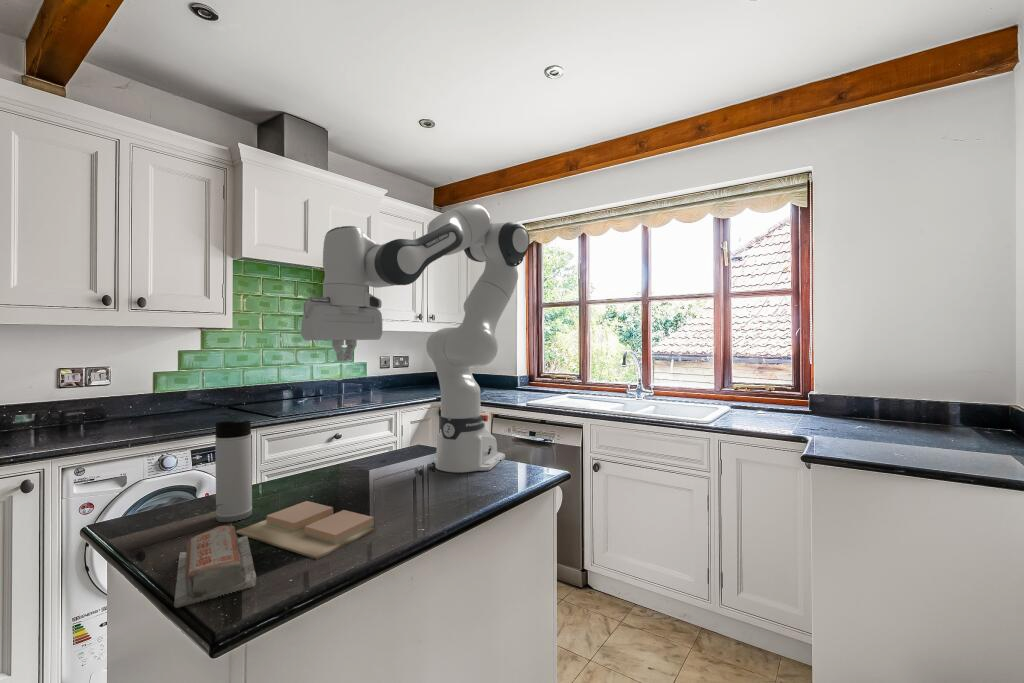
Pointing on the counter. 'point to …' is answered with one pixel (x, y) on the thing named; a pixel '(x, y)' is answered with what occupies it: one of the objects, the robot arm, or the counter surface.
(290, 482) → the counter surface
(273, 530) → the cork mat
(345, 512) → the pink and green block
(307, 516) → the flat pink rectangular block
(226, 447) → the travel mug
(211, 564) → the packaged product
